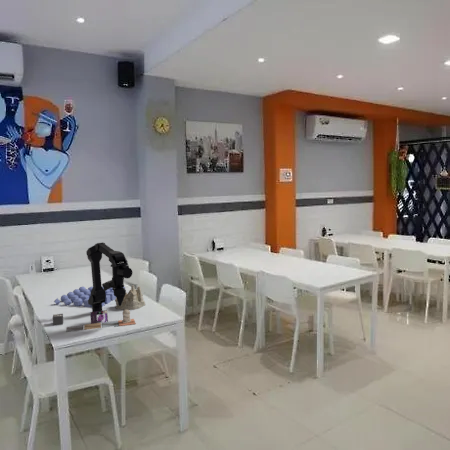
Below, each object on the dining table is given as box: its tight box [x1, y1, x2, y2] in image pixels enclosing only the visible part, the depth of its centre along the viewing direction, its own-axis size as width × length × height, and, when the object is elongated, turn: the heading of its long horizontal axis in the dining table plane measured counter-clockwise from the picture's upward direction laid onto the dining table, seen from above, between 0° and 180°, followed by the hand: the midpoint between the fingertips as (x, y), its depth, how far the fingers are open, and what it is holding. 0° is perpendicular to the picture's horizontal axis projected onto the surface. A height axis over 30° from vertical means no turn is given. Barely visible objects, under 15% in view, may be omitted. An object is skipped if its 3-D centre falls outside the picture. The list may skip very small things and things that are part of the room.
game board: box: [65, 318, 136, 333], centre depth 230 cm, size 9×36×1 cm, turn 108°
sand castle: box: [114, 284, 146, 311], centre depth 265 cm, size 16×16×15 cm
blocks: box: [53, 286, 126, 308], centre depth 285 cm, size 35×34×5 cm
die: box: [52, 313, 64, 326], centre depth 234 cm, size 5×5×5 cm
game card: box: [90, 310, 109, 324], centre depth 236 cm, size 7×5×9 cm
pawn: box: [121, 309, 131, 323], centre depth 234 cm, size 5×5×7 cm
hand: (119, 303), depth 233 cm, fingers open, 9 cm apart
